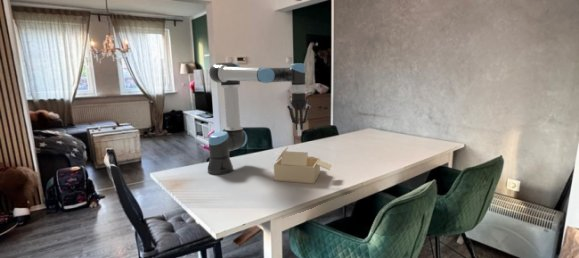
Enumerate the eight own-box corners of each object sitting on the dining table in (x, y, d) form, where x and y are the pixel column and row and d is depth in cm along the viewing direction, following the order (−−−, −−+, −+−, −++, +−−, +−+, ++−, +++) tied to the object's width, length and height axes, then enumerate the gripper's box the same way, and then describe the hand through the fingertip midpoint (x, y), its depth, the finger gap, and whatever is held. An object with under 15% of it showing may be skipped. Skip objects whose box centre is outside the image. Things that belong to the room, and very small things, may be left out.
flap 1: (276, 161, 175) (276, 160, 175) (281, 157, 182) (280, 157, 182) (284, 151, 173) (283, 150, 173) (288, 147, 180) (287, 147, 180)
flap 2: (280, 164, 169) (280, 164, 169) (283, 151, 172) (282, 151, 172) (306, 166, 165) (305, 165, 165) (307, 152, 168) (307, 152, 168)
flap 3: (293, 156, 194) (293, 157, 194) (290, 155, 187) (290, 156, 187) (315, 157, 190) (315, 158, 190) (313, 156, 183) (313, 157, 183)
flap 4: (329, 169, 167) (329, 170, 167) (331, 165, 175) (331, 165, 175) (316, 163, 169) (316, 164, 169) (319, 159, 176) (319, 160, 176)
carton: (274, 180, 172) (273, 164, 170) (284, 170, 189) (283, 156, 187) (313, 183, 166) (313, 167, 164) (320, 173, 183) (320, 158, 181)
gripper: (285, 93, 167) (286, 136, 171) (308, 93, 163) (309, 137, 167) (289, 92, 174) (290, 133, 178) (312, 92, 170) (312, 134, 174)
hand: (299, 135), depth 173 cm, fingers closed
